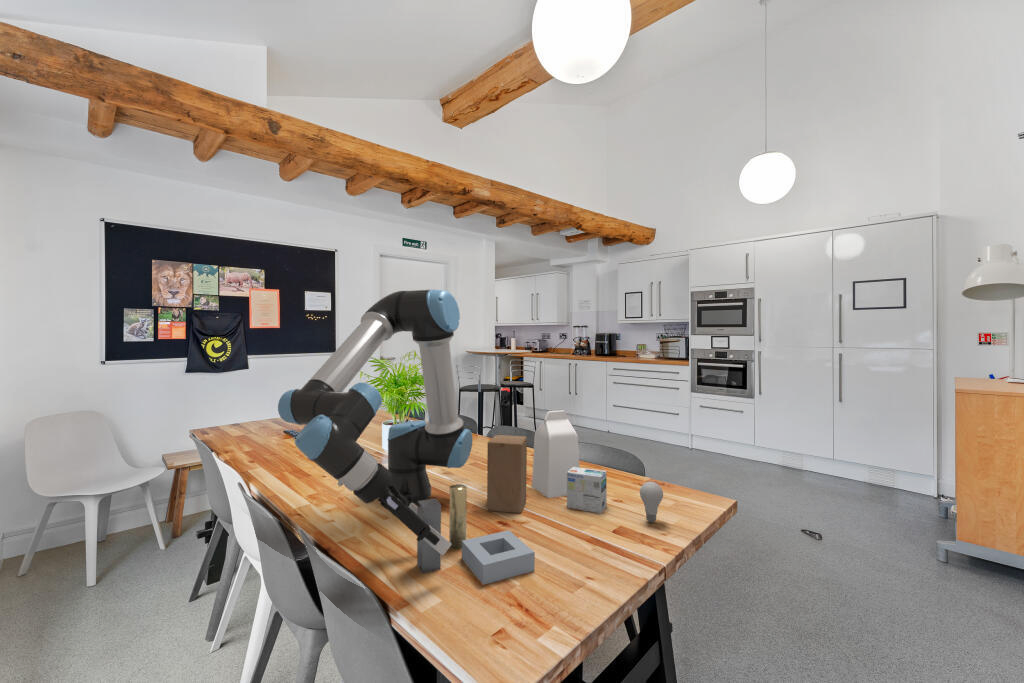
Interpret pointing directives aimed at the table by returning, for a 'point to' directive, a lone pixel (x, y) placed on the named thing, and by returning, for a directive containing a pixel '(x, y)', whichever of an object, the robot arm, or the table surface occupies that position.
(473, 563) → the jig
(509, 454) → the wooden block
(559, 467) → the milk
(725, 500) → the table surface
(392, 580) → the table surface
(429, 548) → the square bit
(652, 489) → the lightbulb
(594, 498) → the light bulb box
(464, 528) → the cylinder
